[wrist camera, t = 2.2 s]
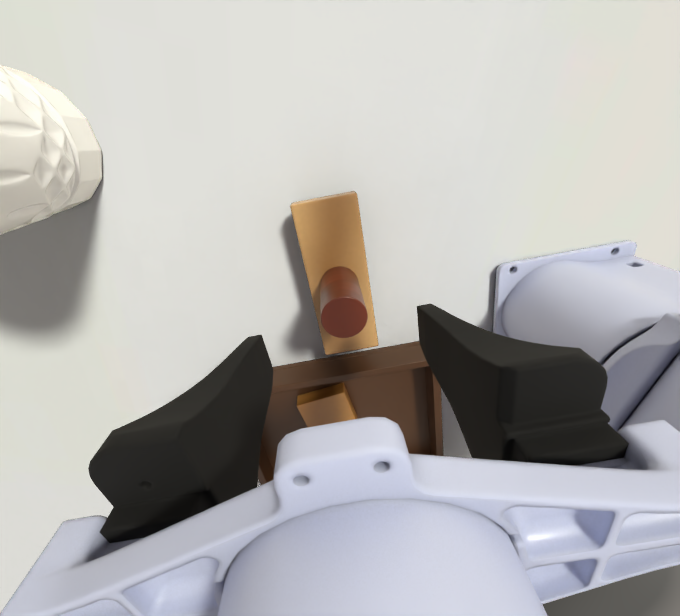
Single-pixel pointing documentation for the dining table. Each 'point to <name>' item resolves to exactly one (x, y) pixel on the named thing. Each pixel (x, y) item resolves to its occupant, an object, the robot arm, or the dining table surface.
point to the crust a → (326, 406)
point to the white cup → (42, 151)
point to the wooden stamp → (337, 270)
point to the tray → (360, 397)
